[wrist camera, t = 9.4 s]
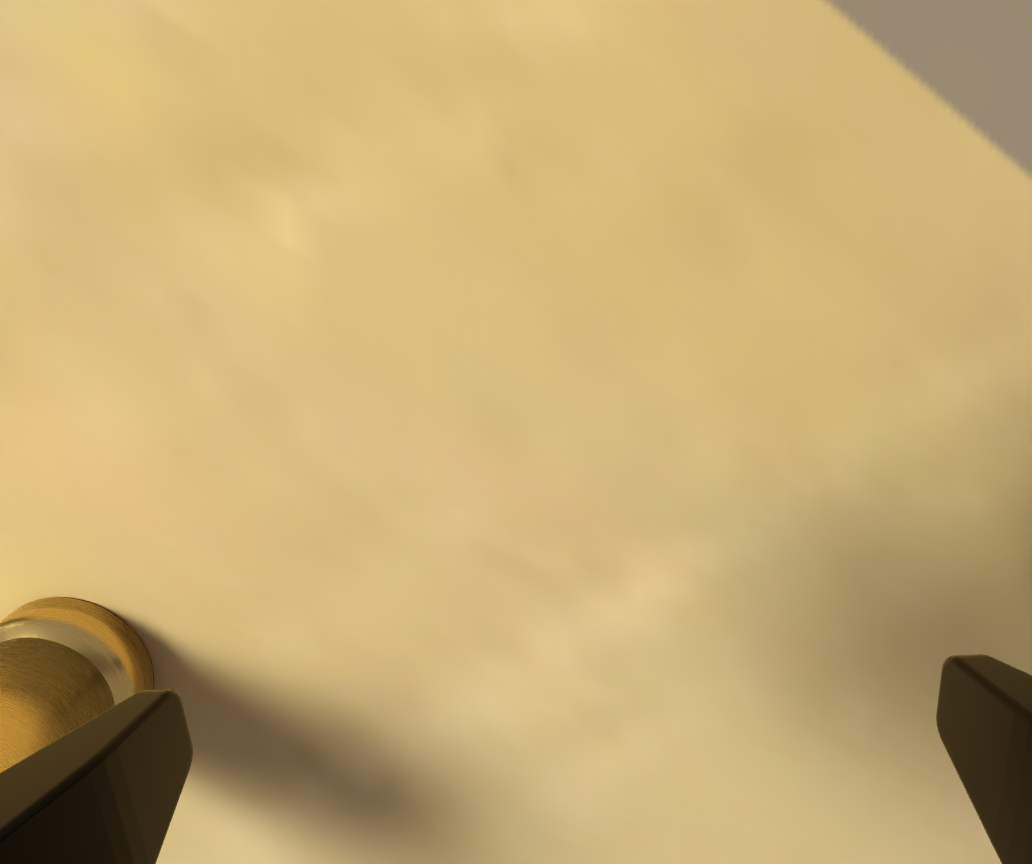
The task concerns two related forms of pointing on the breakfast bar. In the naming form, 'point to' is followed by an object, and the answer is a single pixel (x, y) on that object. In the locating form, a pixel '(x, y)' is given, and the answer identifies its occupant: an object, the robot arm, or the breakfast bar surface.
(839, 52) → the breakfast bar surface
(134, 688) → the knob
